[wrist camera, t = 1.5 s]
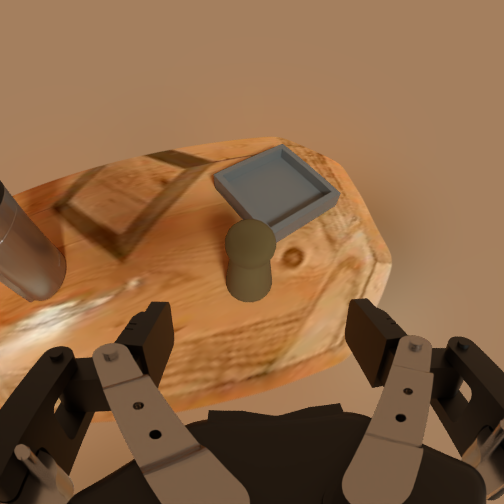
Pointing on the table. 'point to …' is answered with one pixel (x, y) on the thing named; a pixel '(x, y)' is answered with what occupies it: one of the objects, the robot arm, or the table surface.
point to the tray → (276, 190)
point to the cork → (249, 259)
